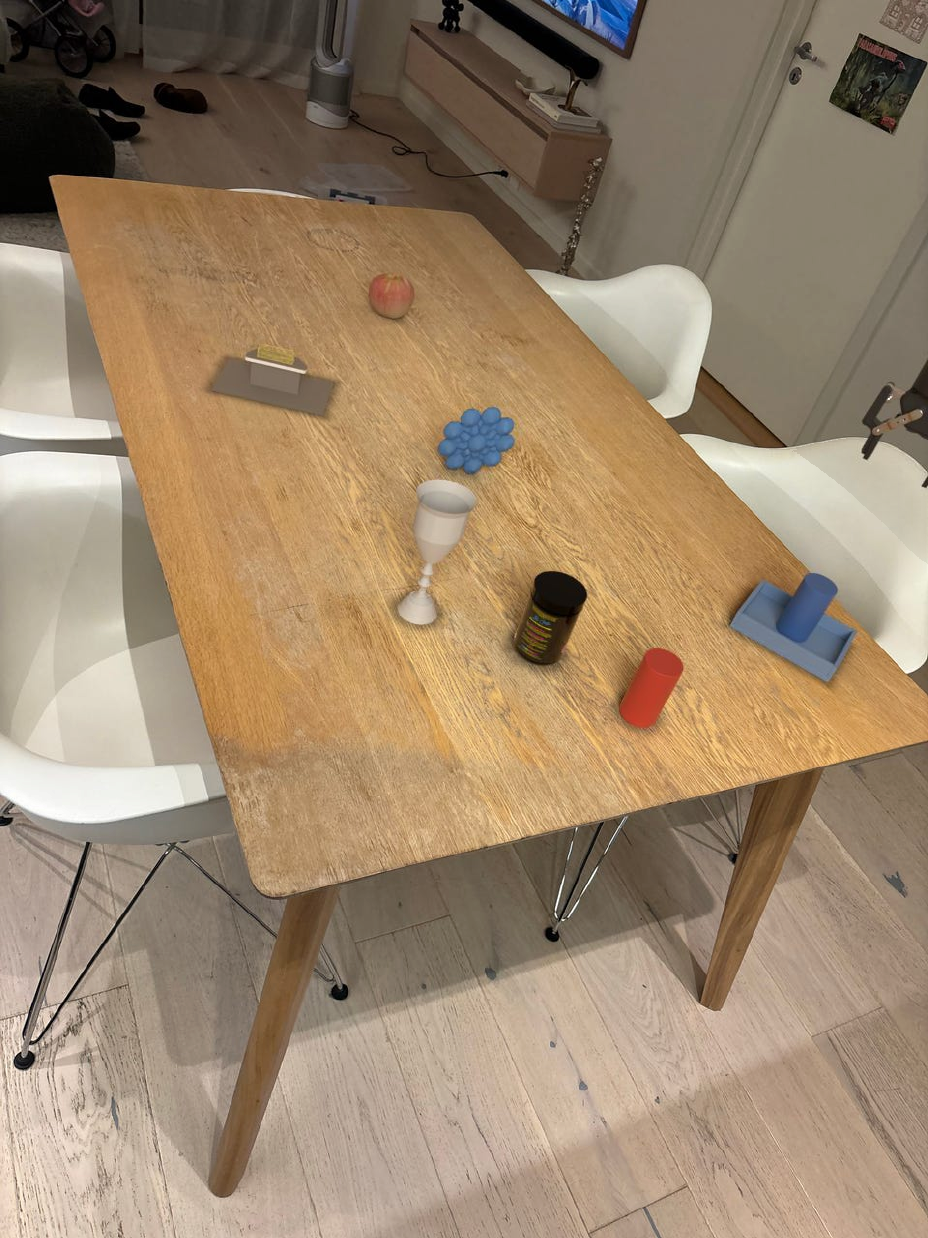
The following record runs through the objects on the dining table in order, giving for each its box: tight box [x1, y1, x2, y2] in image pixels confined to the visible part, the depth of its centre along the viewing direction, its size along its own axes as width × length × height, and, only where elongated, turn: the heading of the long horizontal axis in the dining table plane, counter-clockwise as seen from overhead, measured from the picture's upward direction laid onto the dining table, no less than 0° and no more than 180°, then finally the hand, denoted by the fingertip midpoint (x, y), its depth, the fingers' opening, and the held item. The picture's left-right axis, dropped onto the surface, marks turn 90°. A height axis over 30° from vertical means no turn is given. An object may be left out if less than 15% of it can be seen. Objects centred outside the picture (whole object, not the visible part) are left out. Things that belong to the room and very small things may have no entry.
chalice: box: [397, 479, 478, 625], centre depth 112 cm, size 7×7×18 cm
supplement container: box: [512, 570, 588, 667], centre depth 114 cm, size 7×7×10 cm
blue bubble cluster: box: [437, 406, 515, 475], centre depth 143 cm, size 12×7×12 cm, turn 96°
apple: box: [368, 272, 415, 320], centre depth 181 cm, size 9×9×8 cm
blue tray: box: [729, 578, 858, 684], centre depth 132 cm, size 15×11×3 cm
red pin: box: [618, 647, 685, 729], centre depth 110 cm, size 5×5×9 cm
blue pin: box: [776, 572, 839, 643], centre depth 129 cm, size 5×5×9 cm
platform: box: [210, 343, 335, 417], centre depth 150 cm, size 12×18×7 cm, turn 87°
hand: (895, 471), depth 127 cm, fingers open, 8 cm apart
